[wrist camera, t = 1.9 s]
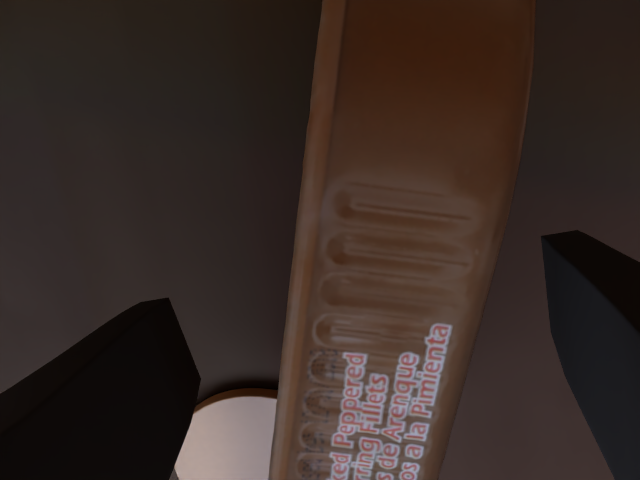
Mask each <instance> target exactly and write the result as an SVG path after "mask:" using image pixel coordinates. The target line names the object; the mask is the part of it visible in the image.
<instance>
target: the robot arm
mask: <svg viewBox="0 0 640 480" xmlns="http://www.w3.org/2000/svg"><path fill="white" fill-rule="evenodd" d="M541 240H542V250H543V259H544V269H545V279H546V288H547V298H548V308H549V318H550V327H551V333H552V337H553V340H554V343H555V346H556V349H557V352H558V356H559V359H560V362H561V365H562V368H563V371H564V374H565V377H566V379H567V381H568V383H569V385H570V388H571V390H572V392H573V394H574V396H575V398H576V400H577V402H578V404H579V406H580V409H581V411H582V413H583V415H584V417H585V419H586V421H587V423H588V425H589V427H590V429H591V431H592V433H593V435H594V437H595V439H596V441H597V444H598V446H599V448H600V450H601V452H602V454H603V456H604V458H605V460H606V462H607V464H608V466H609V468H610V470H611V472H612V474H613V476H614V479H615V480H640V262H638V261H636V260H634V259H632V258H630V257H628V256H626V255H624V254H622V253H621V252H619V251H617V250H615V249H613V248H611V247H609V246H607V245H606V244H604V243H602V242H600V241H598V240H596V239H594V238H593V237H591V236H589V235H587V234H585V233H583V232H580V231H578V230H575V231H569V232H563V233H557V234H551V235H545V236H541ZM200 381H201V378H200V375H199V373H198V370H197V368H196V365H195V363H194V360H193V358H192V355H191V353H190V350H189V348H188V345H187V343H186V340H185V338H184V335H183V333H182V330H181V328H180V325H179V322H178V320H177V317H176V315H175V312H174V310H173V307H172V305H171V302H170V300H169V298H163V299H157V300H151V301H145V302H140V303H138V304H136V305H134V306H132V307H131V308H129V309H127V310H125V311H124V312H122V313H120V314H119V315H117V316H116V317H114V318H113V319H111V320H110V321H108V322H107V323H105V324H104V325H102V326H101V327H99V328H98V329H97V330H95V331H94V332H92V333H91V334H89V335H88V336H86V337H85V338H84V339H82V340H81V341H79V342H78V343H76V344H75V345H74V346H72V347H71V348H69V349H68V350H66V351H65V352H64V353H62V354H61V355H59V356H58V357H56V358H55V359H53V360H52V361H50V362H49V363H47V364H46V365H44V366H43V367H41V368H40V369H38V370H37V371H35V372H34V373H32V374H31V375H29V376H27V377H26V378H24V379H23V380H21V381H20V382H18V383H17V384H15V385H14V386H12V387H11V388H9V389H7V390H6V391H4V392H3V393H1V394H0V480H169V478H170V476H171V473H172V471H173V468H174V466H175V463H176V461H177V458H178V456H179V453H180V451H181V448H182V445H183V443H184V440H185V438H186V435H187V432H188V430H189V427H190V424H191V421H192V417H193V413H194V409H195V405H196V400H197V396H198V391H199V386H200Z"/></svg>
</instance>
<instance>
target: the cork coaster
mask: <svg viewBox="0 0 640 480" xmlns="http://www.w3.org/2000/svg"><path fill="white" fill-rule="evenodd" d="M277 395H278V390H272V389H265V388H243V389H235V390H230V391H226V392H223V393H219V394H216V395H214V396H212V397H210V398H208V399H206V400H204V401H203V402H201V403H200V404H198V405H197V406H196V407H195V409H194V413H193V417H192V421H191V424H190V427H189V430H188V432H187V435H186V438H185V440H184V443H183V445H182V448H181V451H180V453H179V456H178V458H177V461H176V463H175V466H174V467H175V470H176V473H177V476H178V478H179V480H268V476H269V467H270V457H271V448H272V440H273V433H274V425H275V414H276V402H277Z"/></svg>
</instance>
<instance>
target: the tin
mask: <svg viewBox="0 0 640 480" xmlns="http://www.w3.org/2000/svg"><path fill="white" fill-rule="evenodd" d="M535 6H536V0H322V12H321V19H320V26H319V32H318V41H317V49H316V56H315V63H314V75H313V82H312V90H311V99H310V115H309V121H308V126H307V131H306V144H305V153H304V159H303V162H302V165H303V174H302V181H301V189H300V198H299V206H298V213H297V221H296V228H295V240H294V253H293V260H292V268H291V276H290V284H289V293H288V302H287V313H286V323H285V330H284V337H283V345H282V355H281V363H280V373H279V386H278V395H277V402H276V414H275V425H274V433H273V440H272V448H271V457H270V467H269V476H268V480H438V477H439V473H440V470H441V466H442V463H443V460H444V457H445V453H446V449H447V445H448V441H449V437H450V433H451V429H452V426H453V423H454V419H455V416H456V412H457V409H458V405H459V402H460V398H461V394H462V390H463V386H464V382H465V379H466V375H467V372H468V368H469V364H470V361H471V357H472V353H473V349H474V345H475V341H476V337H477V333H478V330H479V327H480V324H481V320H482V317H483V312H484V307H485V303H486V299H487V296H488V292H489V289H490V285H491V281H492V278H493V274H494V270H495V266H496V262H497V258H498V254H499V251H500V247H501V243H502V239H503V235H504V231H505V228H506V224H507V220H508V216H509V212H510V207H511V202H512V198H513V193H514V188H515V183H516V179H517V174H518V169H519V164H520V159H521V152H522V146H523V139H524V133H525V126H526V119H527V111H528V104H529V96H530V88H531V80H532V72H533V61H534V33H535Z"/></svg>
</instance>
